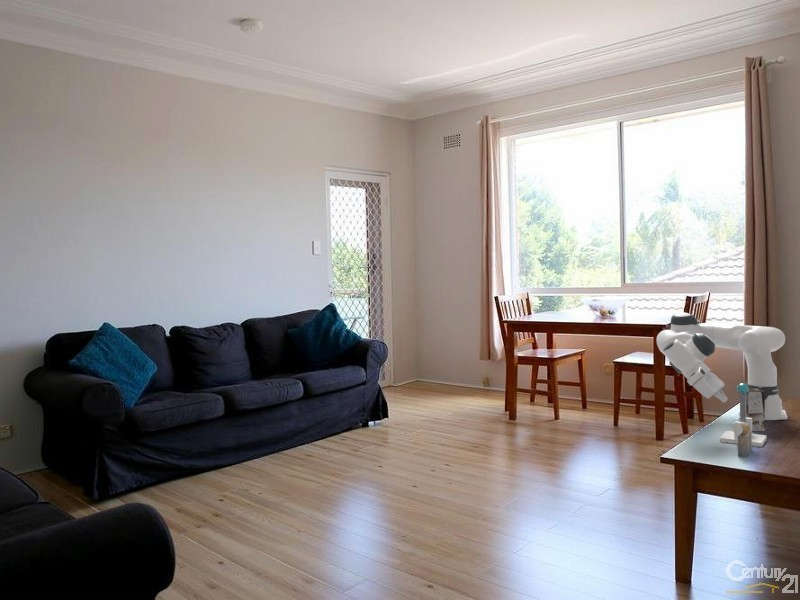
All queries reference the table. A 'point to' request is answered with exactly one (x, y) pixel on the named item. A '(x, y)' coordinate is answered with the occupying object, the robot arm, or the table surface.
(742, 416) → the lever
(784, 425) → the table surface
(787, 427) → the table surface
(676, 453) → the table surface
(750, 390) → the coffee box
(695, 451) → the table surface
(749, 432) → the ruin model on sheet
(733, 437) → the lever stand
